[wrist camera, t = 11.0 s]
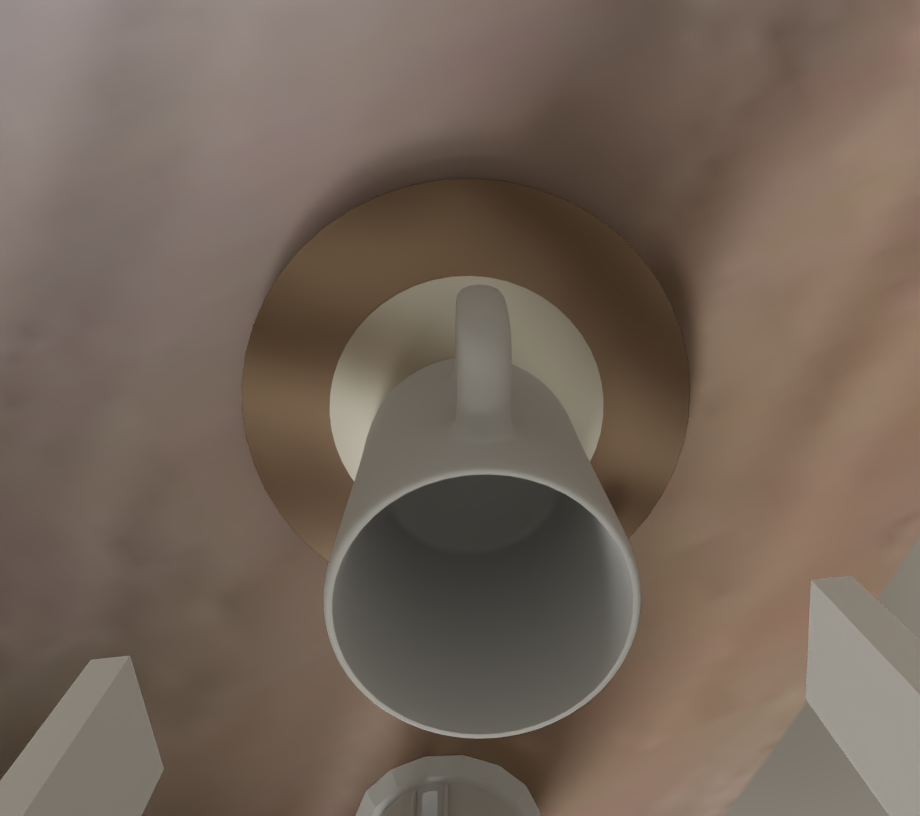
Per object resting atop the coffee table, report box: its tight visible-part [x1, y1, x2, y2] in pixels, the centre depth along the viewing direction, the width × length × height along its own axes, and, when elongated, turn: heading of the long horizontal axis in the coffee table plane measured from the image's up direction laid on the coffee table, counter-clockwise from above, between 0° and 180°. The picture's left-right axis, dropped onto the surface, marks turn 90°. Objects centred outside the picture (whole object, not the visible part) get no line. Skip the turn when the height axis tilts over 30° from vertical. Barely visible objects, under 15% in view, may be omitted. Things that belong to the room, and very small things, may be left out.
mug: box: [324, 285, 641, 739], centre depth 23 cm, size 12×8×11 cm
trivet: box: [242, 178, 690, 562], centre depth 28 cm, size 18×18×3 cm
